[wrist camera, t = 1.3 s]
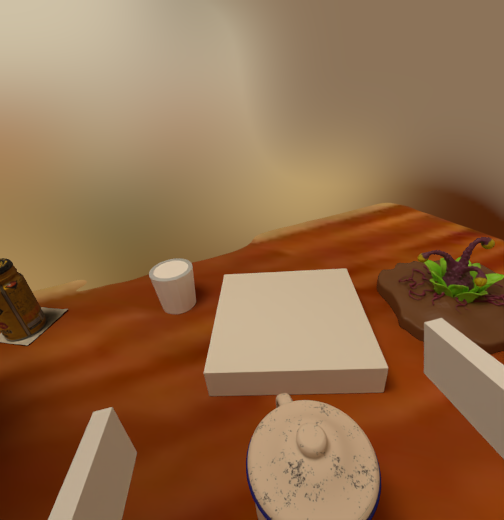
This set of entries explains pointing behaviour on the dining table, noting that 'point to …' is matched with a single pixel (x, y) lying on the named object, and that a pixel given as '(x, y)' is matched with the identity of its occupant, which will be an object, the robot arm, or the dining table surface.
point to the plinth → (292, 337)
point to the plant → (448, 296)
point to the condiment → (21, 308)
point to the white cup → (174, 285)
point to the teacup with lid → (312, 464)
